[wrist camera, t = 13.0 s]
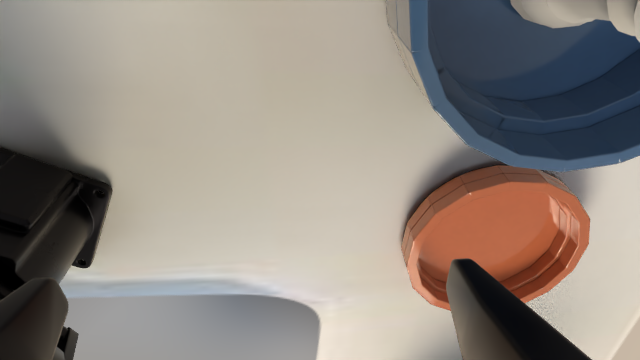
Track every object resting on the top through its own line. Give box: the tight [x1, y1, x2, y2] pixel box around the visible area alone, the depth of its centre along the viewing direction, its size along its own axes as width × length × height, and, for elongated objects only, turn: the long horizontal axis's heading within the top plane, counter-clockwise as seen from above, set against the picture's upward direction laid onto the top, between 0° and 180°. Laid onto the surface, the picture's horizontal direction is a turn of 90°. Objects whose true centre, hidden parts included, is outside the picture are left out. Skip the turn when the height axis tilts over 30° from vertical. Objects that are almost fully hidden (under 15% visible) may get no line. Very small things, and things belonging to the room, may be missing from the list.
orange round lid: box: [401, 165, 590, 311], centre depth 24 cm, size 10×10×2 cm
